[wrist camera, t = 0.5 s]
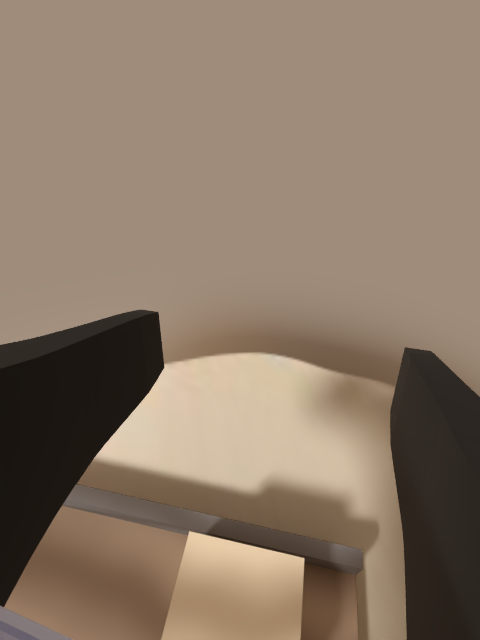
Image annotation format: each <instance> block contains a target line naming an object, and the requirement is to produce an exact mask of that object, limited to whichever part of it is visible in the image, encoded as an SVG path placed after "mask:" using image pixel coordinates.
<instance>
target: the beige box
mask: <svg viewBox="0 0 480 640" xmlns="http://www.w3.org/2000/svg"><path fill="white" fill-rule="evenodd" d="M303 578H304V558H301V557H297V556H293V555H289V554H284V553H280V552H276V551H272V550H267V549H263V548H259V547H255V546H250V545H246V544H242V543H238V542H233V541H229V540H225V539H221V538H216V537H212V536H208V535H203V534H199V533H195V532H191V531H189V534H188V538H187V542H186V546H185V550H184V554H183V558H182V561H181V565H180V569H179V573H178V577H177V581H176V584H175V588H174V592H173V596H172V600H171V604H170V607H169V611H168V615H167V619H166V623H165V627H164V631H163V634H162V638H161V640H300V639H301V618H302V598H303Z"/></svg>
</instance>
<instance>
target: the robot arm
mask: <svg viewBox="0 0 480 640" xmlns="http://www.w3.org/2000/svg"><path fill="white" fill-rule="evenodd" d="M163 369H164V361H163V351H162V342H161V332H160V323H159V314H158V312H154V311H147V310H136V311H131V312H127V313H122V314H118V315H115V316H112V317H108V318H105V319H101V320H98V321H94V322H91V323H88V324H84V325H81V326H77V327H74V328H70V329H66V330H63V331H59V332H55V333H52V334H48V335H45V336H40V337H36V338H32V339H28V340H23V341H18V342H13V343H8V344H3V345H0V640H73V639H71V638H69V637H67V636H65V635H63V634H60V633H58V632H56V631H54V630H52V629H50V628H47V627H45V626H43V625H41V624H39V623H37V622H34V621H32V620H30V619H28V618H26V617H24V616H21V615H19V614H17V613H15V612H13V611H11V610H8V609H6V608H4V606H5V604H6V602H7V600H8V599H9V597H10V595H11V593H12V591H13V589H14V588H15V586H16V584H17V582H18V580H19V578H20V577H21V575H22V573H23V571H24V569H25V567H26V566H27V564H28V562H29V560H30V558H31V556H32V555H33V553H34V551H35V550H36V548H37V546H38V545H39V543H40V541H41V539H42V538H43V536H44V534H45V533H46V531H47V529H48V528H49V526H50V524H51V523H52V521H53V519H54V518H55V516H56V514H57V513H58V511H59V510H60V508H61V507H62V505H63V503H64V502H65V500H66V499H67V497H68V496H69V494H70V493H71V491H72V489H73V488H74V486H75V485H76V483H77V482H78V480H79V479H80V478H81V476H82V475H83V473H84V472H85V470H86V469H87V467H88V466H89V465H90V463H91V462H92V460H93V459H94V457H95V456H96V455H97V453H98V452H99V451H100V450H101V448H102V447H103V446H104V445H105V443H106V442H107V441H108V440H109V439H110V438H111V436H112V435H113V434H114V433H115V432H116V431H117V429H118V428H119V427H120V426H121V425H122V424H123V422H124V421H125V420H126V419H127V418H128V417H129V415H130V414H131V413H132V412H133V411H134V410H135V408H136V407H137V406H138V405H139V404H140V402H141V401H142V400H143V399H144V398H145V396H146V395H147V394H148V393H149V391H150V390H151V388H152V387H153V385H154V384H155V382H156V381H157V379H158V377H159V375H160V374H161V372H162V370H163ZM390 434H391V450H392V458H393V465H394V472H395V479H396V486H397V493H398V500H399V507H400V514H401V521H402V530H403V540H404V559H405V585H406V623H407V640H480V397H479V396H478V395H477V394H476V393H475V392H474V391H472V390H471V389H470V388H469V387H468V386H467V385H466V384H465V383H464V382H463V381H462V380H461V379H460V378H459V377H458V376H457V375H456V374H454V372H452V371H451V370H450V369H449V368H448V367H447V366H446V365H445V364H444V363H443V362H442V361H441V360H440V359H439V358H438V357H437V356H436V355H435V354H434V353H432V352H431V351H426V350H419V349H411V348H405V349H404V354H403V358H402V363H401V367H400V371H399V376H398V380H397V384H396V389H395V393H394V397H393V402H392V406H391V417H390Z"/></svg>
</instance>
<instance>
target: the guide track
mask: <svg viewBox="0 0 480 640" xmlns="http://www.w3.org/2000/svg"><path fill="white" fill-rule="evenodd" d="M189 531H191V532H195V533H199V534H203V535H208V536H212V537H216V538H221V539H225V540H229V541H233V542H238V543H242V544H246V545H250V546H255V547H259V548H263V549H267V550H272V551H276V552H280V553H284V554H289V555H293V556H297V557H301V558H304V578H303V598H302V618H301V639H300V640H358V623H357V596H356V574H358V573H359V572H360V571H361V570H363V555H362V549H358V548H353V547H349V546H344V545H340V544H336V543H331V542H327V541H323V540H318V539H314V538H310V537H305V536H301V535H296V534H292V533H288V532H283V531H279V530H275V529H270V528H266V527H262V526H257V525H253V524H249V523H244V522H240V521H235V520H231V519H227V518H222V517H218V516H214V515H209V514H205V513H201V512H196V511H192V510H188V509H183V508H179V507H174V506H170V505H166V504H161V503H157V502H153V501H148V500H144V499H140V498H135V497H131V496H127V495H122V494H118V493H113V492H109V491H105V490H100V489H96V488H92V487H87V486H83V485H79V484H76V485H75V486H74V488H73V489H72V491H71V493H70V494H69V496H68V497H67V499H66V500H65V502H64V503H63V505H62V507H61V508H60V510H59V511H58V513H57V514H56V516H55V518H54V519H53V521H52V523H51V524H50V526H49V528H48V529H47V531H46V533H45V534H44V536H43V538H42V539H41V541H40V543H39V545H38V546H37V548H36V550H35V551H34V553H33V555H32V556H31V558H30V560H29V562H28V564H27V566H26V567H25V569H24V571H23V573H22V575H21V577H20V578H19V580H18V582H17V584H16V586H15V588H14V589H13V591H12V593H11V595H10V597H9V599H8V600H7V602H6V604H5V606H4V608H6V609H8V610H11V611H13V612H15V613H17V614H19V615H21V616H24V617H26V618H28V619H30V620H32V621H34V622H37V623H39V624H41V625H43V626H45V627H47V628H50V629H52V630H54V631H56V632H58V633H60V634H63V635H65V636H67V637H69V638H71V639H73V640H161V638H162V634H163V631H164V627H165V623H166V619H167V615H168V611H169V607H170V604H171V600H172V596H173V592H174V588H175V584H176V581H177V577H178V573H179V569H180V565H181V561H182V558H183V554H184V550H185V546H186V542H187V538H188V534H189Z"/></svg>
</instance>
